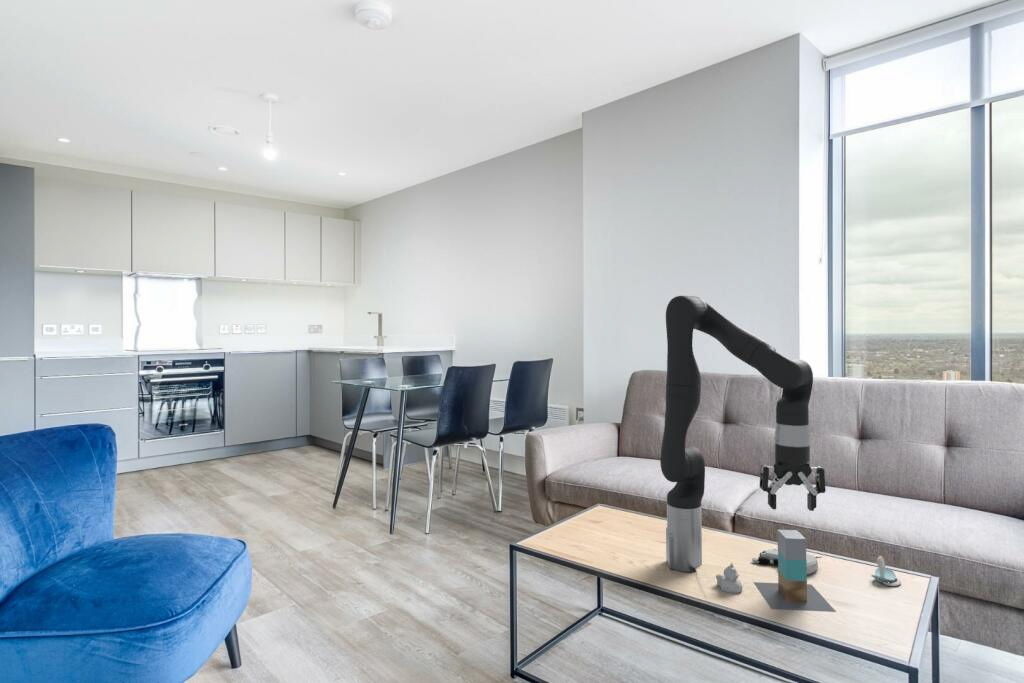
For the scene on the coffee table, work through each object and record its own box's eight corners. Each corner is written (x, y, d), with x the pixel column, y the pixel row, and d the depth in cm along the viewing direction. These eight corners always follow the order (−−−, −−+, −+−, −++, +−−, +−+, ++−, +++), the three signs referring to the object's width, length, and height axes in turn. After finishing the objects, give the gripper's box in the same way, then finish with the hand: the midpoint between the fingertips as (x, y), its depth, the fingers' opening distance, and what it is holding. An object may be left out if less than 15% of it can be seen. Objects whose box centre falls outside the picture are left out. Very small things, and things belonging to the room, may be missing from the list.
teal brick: (786, 580, 133) (786, 559, 133) (778, 569, 139) (778, 549, 139) (806, 581, 132) (806, 560, 132) (797, 570, 138) (797, 550, 138)
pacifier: (903, 581, 146) (876, 573, 150) (904, 557, 146) (877, 550, 150) (897, 590, 141) (869, 582, 145) (897, 566, 141) (870, 558, 145)
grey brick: (786, 559, 133) (785, 538, 133) (777, 549, 139) (777, 529, 139) (806, 560, 132) (806, 538, 132) (797, 550, 138) (796, 530, 138)
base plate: (771, 613, 130) (771, 608, 130) (753, 586, 143) (753, 582, 143) (836, 616, 128) (836, 611, 128) (811, 589, 142) (811, 584, 142)
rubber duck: (736, 601, 136) (736, 568, 136) (711, 592, 141) (710, 560, 141) (746, 593, 140) (746, 561, 140) (721, 585, 145) (721, 554, 145)
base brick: (787, 601, 133) (786, 580, 133) (778, 590, 139) (778, 569, 139) (807, 602, 132) (806, 581, 132) (797, 590, 138) (797, 570, 138)
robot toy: (749, 570, 156) (805, 584, 144) (748, 554, 156) (804, 566, 144) (770, 559, 163) (825, 571, 152) (769, 543, 164) (824, 554, 152)
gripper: (766, 444, 132) (765, 513, 133) (830, 446, 130) (830, 515, 131) (756, 438, 140) (756, 503, 140) (817, 439, 138) (816, 505, 138)
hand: (791, 509), depth 135 cm, fingers open, 8 cm apart
